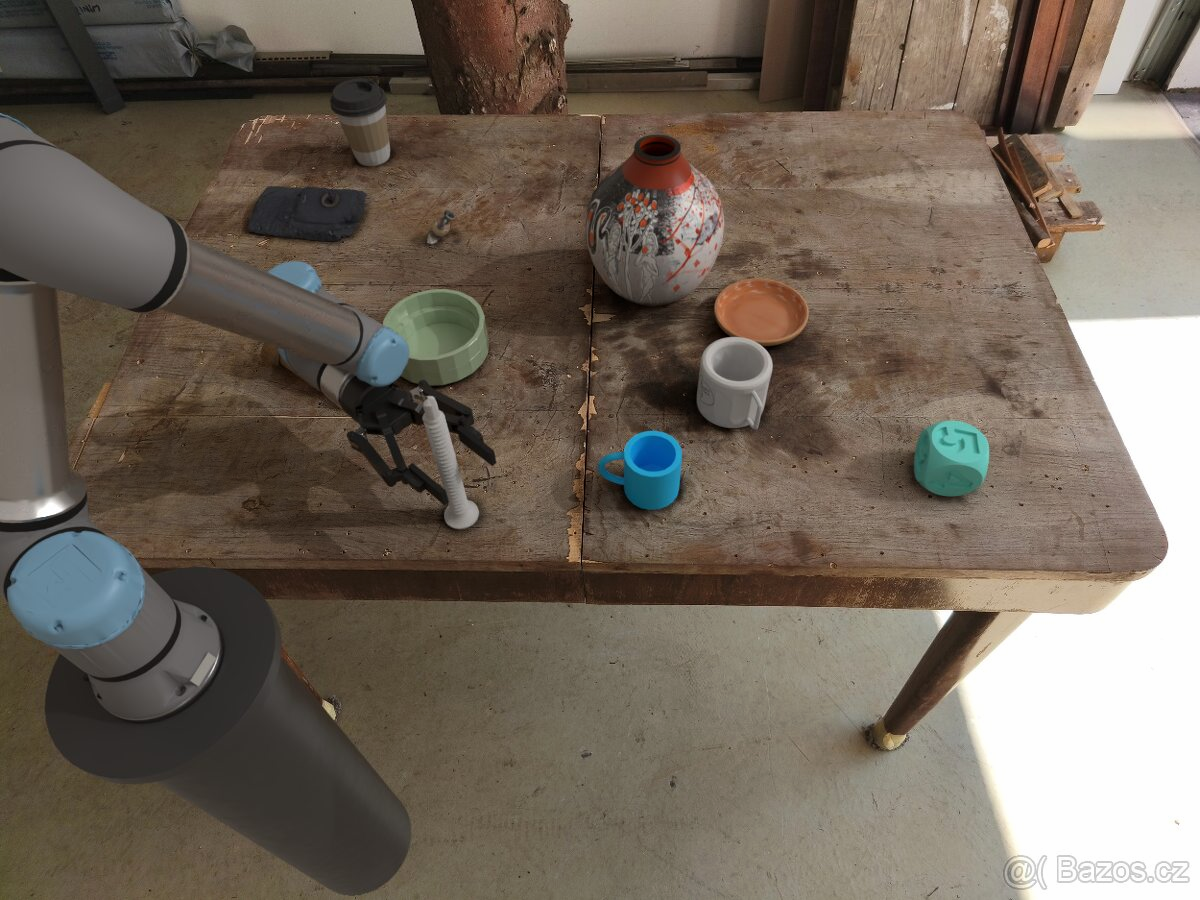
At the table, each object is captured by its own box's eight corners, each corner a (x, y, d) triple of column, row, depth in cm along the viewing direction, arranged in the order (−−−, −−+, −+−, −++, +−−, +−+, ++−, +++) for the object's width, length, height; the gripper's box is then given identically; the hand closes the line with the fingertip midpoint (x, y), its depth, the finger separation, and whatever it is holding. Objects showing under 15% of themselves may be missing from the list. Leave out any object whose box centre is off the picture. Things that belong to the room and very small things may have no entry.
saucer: (699, 337, 138) (700, 324, 136) (731, 280, 147) (733, 268, 145) (789, 365, 134) (792, 352, 131) (817, 305, 142) (820, 292, 140)
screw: (439, 377, 99) (455, 403, 96) (470, 495, 119) (484, 520, 116) (401, 392, 98) (415, 419, 95) (439, 509, 118) (452, 534, 115)
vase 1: (462, 231, 158) (457, 205, 153) (454, 248, 154) (449, 222, 150) (435, 228, 158) (430, 202, 153) (427, 246, 155) (421, 220, 150)
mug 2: (684, 390, 131) (688, 346, 123) (743, 371, 133) (751, 327, 125) (723, 451, 123) (730, 409, 115) (785, 430, 125) (796, 387, 117)
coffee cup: (410, 155, 174) (395, 88, 162) (368, 178, 169) (348, 111, 157) (378, 136, 179) (361, 69, 167) (336, 158, 174) (315, 91, 162)
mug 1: (680, 466, 122) (683, 432, 115) (677, 512, 117) (680, 479, 110) (601, 460, 123) (600, 426, 116) (595, 505, 118) (593, 472, 111)
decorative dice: (972, 500, 117) (992, 467, 110) (915, 493, 118) (932, 460, 111) (966, 456, 122) (985, 422, 115) (911, 450, 122) (927, 416, 116)
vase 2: (571, 318, 142) (562, 178, 120) (606, 237, 155) (604, 98, 133) (702, 342, 138) (718, 201, 115) (727, 256, 151) (745, 116, 129)
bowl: (385, 391, 132) (375, 361, 127) (398, 321, 142) (389, 290, 137) (486, 387, 132) (480, 357, 127) (492, 317, 142) (486, 287, 137)
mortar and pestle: (270, 370, 136) (347, 425, 131) (253, 349, 130) (333, 406, 125) (298, 343, 138) (374, 395, 133) (283, 321, 132) (362, 375, 127)
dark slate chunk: (272, 189, 168) (264, 168, 164) (374, 196, 165) (368, 176, 161) (242, 235, 158) (232, 214, 155) (349, 243, 156) (342, 223, 152)
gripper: (422, 369, 121) (528, 448, 112) (309, 450, 112) (414, 544, 103) (412, 333, 115) (523, 413, 106) (291, 415, 106) (401, 511, 97)
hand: (469, 477), depth 104 cm, fingers open, 8 cm apart
